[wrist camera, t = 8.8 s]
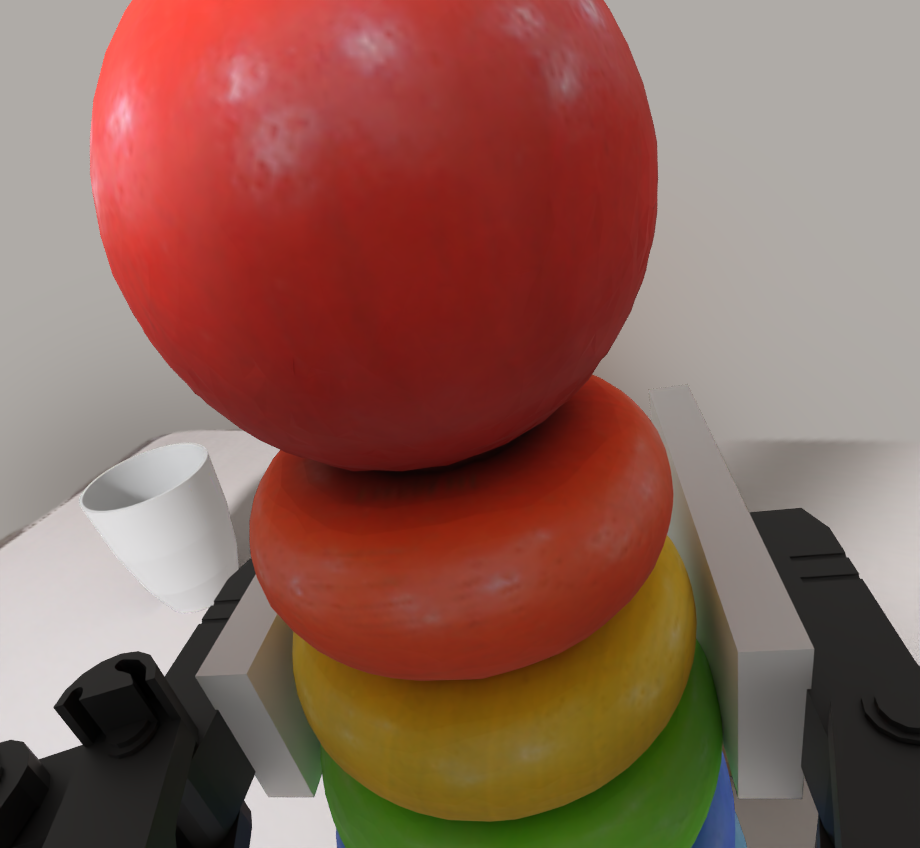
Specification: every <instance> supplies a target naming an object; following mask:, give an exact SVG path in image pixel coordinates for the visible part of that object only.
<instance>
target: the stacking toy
mask: <svg viewBox="0 0 920 848" xmlns="http://www.w3.org/2000/svg"><path fill="white" fill-rule="evenodd" d="M90 176H91V183H92V191H93V197H94V202H95V208H96V213H97V218H98V224H99V229H100V235H101V239H102V241H103V245H104V248H105V251H106V255H107V258H108V261H109V264H110V267H111V270H112V274H113V276H114V278H115V280H116V282H117V284H118V285H119V288H120V290H121V291H122V293H123V295H124V297H125V299H126V301H127V303H128V305H129V307H130V309H131V311H132V313H133V315H134V316H135V318H136V319H137V321H138V322H139V323H140V325H141V327H142V328H143V330H144V333H145V334H146V335H147V337H148V338H149V340H150V342H151V343H152V344H153V346H154V347H155V348H156V349H157V351H158V352H159V353H160V354H161V356H162V357H163V358H164V360H165V361H166V362H167V363H168V365H169V366H170V367H171V368H172V369H173V370H174V371H175V372H176V373H177V374H178V376H179V377H181V378H182V379H183V380H184V381H185V382H186V383H187V384H188V386H189V387H190V388H191V389H192V390H193V392H194V393H195V394H197V395H198V396H200V397H201V398H202V399H203V400H204V401H205V402H206V403H207V404H208V405H210V406H211V407H212V408H214V409H215V410H216V411H218V412H219V413H220V414H222V415H223V416H225V417H226V418H227V419H228V420H230V421H231V422H233V423H234V424H235V425H237V426H238V427H239V428H241V429H242V430H244V431H246V432H247V433H249V434H251V435H252V436H254V437H256V438H257V439H259V440H261V441H263V442H265V443H267V444H269V445H271V446H274V447H276V448H278V449H280V451H279V452H278V453H277V455H276V456H275V457H274V458H273V460H272V462H271V463H270V465H269V467H268V469H267V470H266V472H265V474H264V476H263V477H262V479H261V481H260V483H259V486H258V489H257V491H256V494H255V497H254V501H253V506H252V511H251V516H250V551H251V558H252V562H253V566H254V569H255V573H256V576H257V579H258V581H259V583H260V585H261V587H262V589H263V592H264V594H265V596H266V598H267V600H268V602H269V604H270V606H271V607H272V609H273V610H274V611H275V612H276V613H277V614H278V615H279V616H280V617H281V618H282V620H283V621H284V622H285V623H286V624H287V625H288V626H289V627H290V628H291V629H292V631H293V647H292V660H293V674H294V679H295V684H296V689H297V694H298V697H299V700H300V703H301V705H302V708H303V711H304V714H305V716H306V718H307V721H308V723H309V725H310V727H311V728H312V730H313V732H314V733H315V735H316V737H317V738H318V740H319V741H320V743H321V749H320V759H321V767H322V775H323V782H324V788H325V795H326V798H327V801H328V804H329V808H330V811H331V814H332V818H333V821H334V823H335V826H336V839H337V848H747V846H746V841H745V838H744V835H743V832H742V829H741V826H740V823H739V821H738V818H737V815H736V812H735V808H734V797H733V792H732V787H731V782H730V778H729V773H728V769H727V765H726V761H725V758H724V754H723V752H722V741H723V729H722V718H721V713H720V707H719V702H718V698H717V693H716V689H715V685H714V681H713V677H712V673H711V669H710V666H709V663H708V660H707V657H706V655H705V653H704V651H703V649H702V647H701V645H700V643H699V642H698V640H697V639H696V629H697V618H696V606H695V601H694V595H693V590H692V586H691V582H690V579H689V576H688V573H687V570H686V568H685V565H684V563H683V560H682V558H681V557H680V555H679V553H678V551H677V549H676V547H675V545H674V544H673V542H672V540H671V539H670V538H669V537H668V535H667V533H668V530H669V525H670V521H671V514H672V508H673V495H674V493H673V484H672V475H671V469H670V465H669V461H668V457H667V453H666V449H665V446H664V444H663V442H662V439H661V437H660V435H659V433H658V431H657V429H656V428H655V426H654V425H653V423H652V422H651V420H650V419H649V418H648V417H647V416H646V414H645V413H644V412H643V410H641V409H640V407H639V406H638V405H637V404H636V403H635V402H634V401H633V400H632V399H630V398H629V397H628V396H627V395H626V394H625V393H623V392H622V391H621V390H619V389H618V388H616V387H614V386H612V385H611V384H610V383H608V382H606V381H604V380H603V379H601V378H599V377H597V376H594V375H592V373H593V372H594V370H595V369H596V367H597V366H598V364H599V362H600V361H601V360H602V358H604V357H605V356H606V355H607V353H608V351H609V350H610V348H611V346H612V345H613V343H614V341H615V339H616V338H617V336H618V334H619V332H620V330H621V329H622V327H623V325H624V323H625V321H626V320H627V318H628V316H629V314H630V312H631V310H632V307H633V304H634V301H635V298H636V296H637V294H638V291H639V289H640V287H641V284H642V281H643V279H644V275H645V272H646V268H647V262H648V258H649V254H650V249H651V246H652V242H653V238H654V233H655V224H656V217H657V184H658V162H657V140H656V135H655V129H654V124H653V120H652V116H651V112H650V109H649V104H648V101H647V96H646V92H645V89H644V85H643V82H642V79H641V77H640V74H639V72H638V69H637V66H636V64H635V61H634V59H633V56H632V54H631V51H630V49H629V46H628V44H627V42H626V40H625V38H624V36H623V34H622V32H621V30H620V28H619V27H618V25H617V23H616V21H615V19H614V17H613V15H612V13H611V11H610V9H609V8H608V6H607V5H606V3H605V2H604V0H132V2H131V3H130V4H129V6H128V7H127V9H126V10H125V12H124V14H123V16H122V18H121V21H120V23H119V25H118V27H117V29H116V31H115V33H114V35H113V38H112V40H111V42H110V44H109V46H108V48H107V51H106V53H105V57H104V60H103V65H102V68H101V73H100V76H99V80H98V84H97V88H96V92H95V96H94V100H93V111H92V123H91V135H90Z"/></svg>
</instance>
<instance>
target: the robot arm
mask: <svg viewBox="0 0 920 848" xmlns="http://www.w3.org/2000/svg"><path fill="white" fill-rule="evenodd" d="M649 401H650V414H651V422H652V423H653V425H654V426H655V428H656V429H657V431H658V433H659V435H660V437H661V439H662V442H663V444H664V446H665V449H666V453H667V457H668V461H669V465H670V469H671V475H672V484H673V493H674V495H673V508H672V514H671V521H670V525H669V530H668V533H667V535H668V537H669V538H670V539H671V540H672V542H673V544H674V545H675V547H676V549H677V551H678V553H679V555H680V557H681V558H682V560H683V563H684V565H685V568H686V570H687V573H688V576H689V579H690V582H691V586H692V590H693V595H694V601H695V606H696V618H697V629H696V639H697V640H698V642H699V643H700V645H701V647H702V649H703V651H704V653H705V655H706V657H707V660H708V663H709V666H710V669H711V673H712V677H713V681H714V685H715V689H716V693H717V698H718V702H719V707H720V713H721V718H722V729H723V744H724V748H725V752H726V755H727V759H728V763H729V766H730V770H731V774H732V777H733V781H734V785H735V789H736V792H737V796H738V799H802V794H803V781H804V776H805V779H806V781H807V784H808V787H809V789H810V792H811V795H812V797H813V800H814V803H815V805H816V808H817V811H818V813H819V814H818V824H817V833H816V842H815V848H920V666H919V665H918V664H917V663H916V662H915V660H914V658H913V657H912V655H911V654H910V652H909V651H908V649H907V648H906V646H905V645H904V643H903V641H902V640H901V638H900V637H899V635H898V634H897V632H896V631H895V629H894V627H893V626H892V624H891V623H890V621H889V620H888V618H887V617H886V615H885V613H884V612H883V610H882V609H881V607H880V606H879V604H878V603H877V601H876V600H875V598H874V596H873V595H872V593H871V592H870V590H869V589H868V587H867V586H866V584H865V582H864V581H863V579H860V578H859V573H858V572H857V570H856V568H855V567H854V565H853V564H852V562H851V561H850V559H849V558H846V555H845V551H844V550H843V548H842V547H841V545H840V544H839V542H838V541H837V539H836V537H835V536H834V534H833V533H832V531H831V530H830V528H829V527H828V526H826V525H825V524H823V523H822V522H820V521H819V520H818V519H816V518H815V517H813V516H812V515H811V514H809V513H808V512H806V511H805V510H803V509H802V508H795V509H783V510H772V511H761V512H750V513H749V511H748V509H747V507H746V505H745V503H744V501H743V499H742V497H741V494H740V492H739V490H738V488H737V486H736V484H735V482H734V480H733V478H732V476H731V474H730V471H729V469H728V467H727V465H726V463H725V461H724V459H723V457H722V455H721V453H720V451H719V449H718V446H717V444H716V442H715V440H714V438H713V436H712V434H711V432H710V430H709V428H708V426H707V424H706V421H705V419H704V417H703V415H702V413H701V411H700V409H699V407H698V405H697V403H696V401H695V398H694V397H693V394H692V392H691V390H690V388H689V386H688V384H686V385H679V386H671V387H664V388H656V389H649ZM292 647H293V631H292V629H291V628H290V627H289V626H288V625H287V624H286V623H285V622H284V621H283V620H282V618H281V617H280V616H279V615H278V614H277V613H276V612H275V611H274V610H273V609H272V607H271V606H270V604H269V602H268V600H267V598H266V596H265V594H264V592H263V589H262V587H261V585H260V583H259V581H258V579H257V576H256V573H255V569H254V566H253V562H252V559H249V560H248V561H247V562H246V563H245V564H244V565H243V566H242V567H241V568H239V569H238V570H237V571H236V572H235V573H234V574H233V575H232V576H231V577H230V578H228V580H227V581H226V583H225V584H224V586H223V587H222V589H221V590H220V592H219V594H218V595H217V597H216V598H215V600H214V605H211V606H210V607H209V609H208V611H207V612H206V614H205V615H204V617H203V618H202V624H198V626H197V628H196V629H195V631H194V632H193V634H192V635H191V637H190V638H189V640H188V642H187V643H186V645H185V646H184V648H183V649H182V651H181V652H180V654H179V655H178V657H177V659H176V660H175V662H174V663H173V665H172V666H171V668H170V669H169V671H168V672H167V674H166V676H165V677H164V675H163V674H162V672H161V671H160V669H159V668H158V666H157V664H156V663H155V661H154V660H153V658H152V657H151V655H149V654H146V653H142V652H138V651H137V652H130V653H123V654H119V655H117V656H114V657H112V658H110V659H107V660H105V661H102V662H101V663H99V664H98V665H96V666H94V667H93V668H91V669H90V670H88V671H87V672H85V673H84V674H82V675H81V676H80V677H79V678H78V679H77V680H76V681H75V682H74V683H73V684H72V685H71V686H69V687H68V688H67V689H66V690H65V692H64V693H63V694H62V696H61V697H60V699H59V700H58V702H57V703H56V704H55V706H54V707H53V708H54V709H55V710H56V711H57V713H58V714H59V715H60V716H61V718H62V719H63V720H64V721H65V723H66V724H67V725H68V726H69V728H70V729H71V730H72V732H73V733H74V734H75V735H76V737H77V738H78V739H79V740H80V742H81V743H82V744H83V745H81V746H78V747H75V748H72V749H69V750H66V751H63V752H60V753H57V754H54V755H51V756H48V757H45V758H42V759H38V758H37V757H36V756H35V755H34V754H33V752H32V751H31V750H30V749H29V748H28V747H27V746H26V744H25V743H24V742H21V741H14V740H9V741H5V742H1V743H0V848H249V845H250V838H251V830H252V819H251V811H250V809H249V808H248V806H247V805H246V803H245V801H244V799H245V796H246V794H247V792H248V789H249V787H250V784H251V782H252V780H253V777H254V775H255V776H256V778H257V779H258V781H259V782H260V784H261V786H262V787H263V789H264V791H265V792H266V794H267V796H268V797H314V796H315V793H316V790H317V787H318V784H319V781H320V778H321V775H322V767H321V759H320V749H321V743H320V741H319V740H318V738H317V737H316V735H315V733H314V732H313V730H312V728H311V727H310V725H309V723H308V721H307V718H306V716H305V714H304V711H303V708H302V705H301V703H300V700H299V697H298V694H297V689H296V684H295V679H294V674H293V660H292Z"/></svg>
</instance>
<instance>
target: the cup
mask: <svg viewBox="0 0 920 848" xmlns="http://www.w3.org/2000/svg"><path fill="white" fill-rule="evenodd" d="M79 506H80V507H81V509H82V510H83V512H84V513H85V514H86V516H87V517H88V519H89V520H90V521H91V523H92V524H93V526H94V527H95V528H96V530H97V531H98V533H99V534H100V535H101V537H102V538H103V540H104V541H105V542H106V544H107V545H108V547H109V548H110V549H111V551H112V552H113V554H114V555H115V556H116V557H117V559H118V560H119V561H120V562H121V563H122V564H123V565H124V566H125V567H126V568H127V569H128V570H129V571H130V573H131V574H132V575H133V576H134V577H135V578H136V579H137V580H138V581H139V582H140V583H141V584H142V585H143V586H144V588H145V589H146V590H147V591H149V592H150V593H151V594H153V595H154V596H155V597H157V598H158V599H159V600H161V601H162V602H163V603H165V604H166V605H167V606H168V607H170V608H171V609H172V610H174V611H175V612H178V613H194V612H198V611H201V610H204V609H206V608H208V607H210V606H211V605H214V600H215V598H216V597H217V595H218V594H219V592H220V590H221V589H222V587H223V586H224V584H225V583H226V581H227V580H228V578H230V577H231V576H232V575H233V574H234V573H235V572H236V571H237V570H238V569H239V565H238V552H237V542H236V538H235V534H234V530H233V525H232V521H231V517H230V513H229V509H228V505H227V501H226V499H225V496H224V493H223V491H222V488H221V486H220V483H219V480H218V478H217V475H216V473H215V470H214V467H213V465H212V462H211V460H210V457H209V454H208V452H207V449H206V448H205V447H204V446H202V445H200V444H196V443H177V444H171V445H166V446H162V447H158V448H155V449H152V450H149V451H146V452H143V453H141V454H138V455H136V456H134V457H131V458H129V459H127V460H125V461H123V462H121V463H119V464H117V465H116V466H114V467H112V468H110V469H109V470H107V471H106V472H104V473H103V474H101V475H100V476H99V477H97V478H96V479H95V480H94V481H93V482H91V483H90V484H89V485H88V486H87V487H86V489H85V490H84V491H83V493H82V494H81V496H80V499H79Z"/></svg>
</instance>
